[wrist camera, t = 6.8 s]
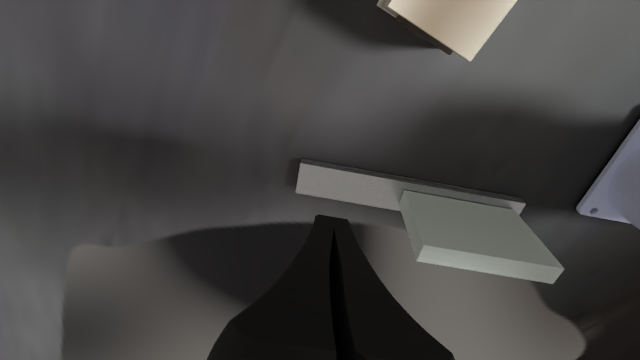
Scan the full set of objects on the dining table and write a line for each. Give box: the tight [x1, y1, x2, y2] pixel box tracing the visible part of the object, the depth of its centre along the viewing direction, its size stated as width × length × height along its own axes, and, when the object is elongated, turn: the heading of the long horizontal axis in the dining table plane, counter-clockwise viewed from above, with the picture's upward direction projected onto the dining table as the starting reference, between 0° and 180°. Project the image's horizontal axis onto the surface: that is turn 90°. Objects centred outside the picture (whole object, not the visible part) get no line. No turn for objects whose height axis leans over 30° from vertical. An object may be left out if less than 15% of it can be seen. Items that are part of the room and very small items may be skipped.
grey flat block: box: [399, 190, 564, 284], centre depth 20 cm, size 8×1×6 cm, turn 80°
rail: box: [296, 158, 526, 215], centre depth 22 cm, size 16×2×1 cm, turn 80°
